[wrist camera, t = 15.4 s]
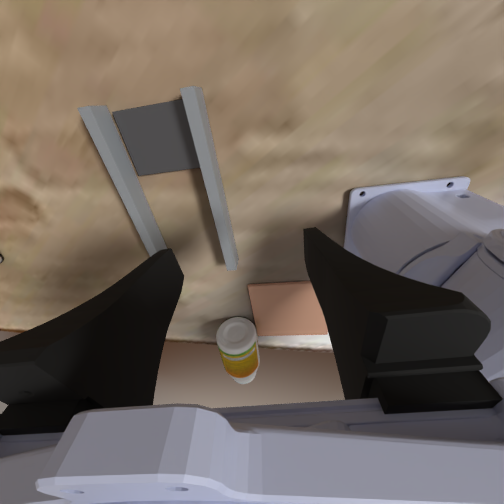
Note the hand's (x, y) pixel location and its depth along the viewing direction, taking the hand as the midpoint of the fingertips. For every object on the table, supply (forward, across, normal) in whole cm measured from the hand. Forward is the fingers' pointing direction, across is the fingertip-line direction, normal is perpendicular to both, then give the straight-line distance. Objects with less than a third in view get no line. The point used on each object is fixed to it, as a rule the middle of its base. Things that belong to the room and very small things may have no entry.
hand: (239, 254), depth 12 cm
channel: (+11, +6, 0) cm, 13 cm away
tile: (+10, -3, +17) cm, 20 cm away
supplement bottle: (+8, +4, +18) cm, 20 cm away
